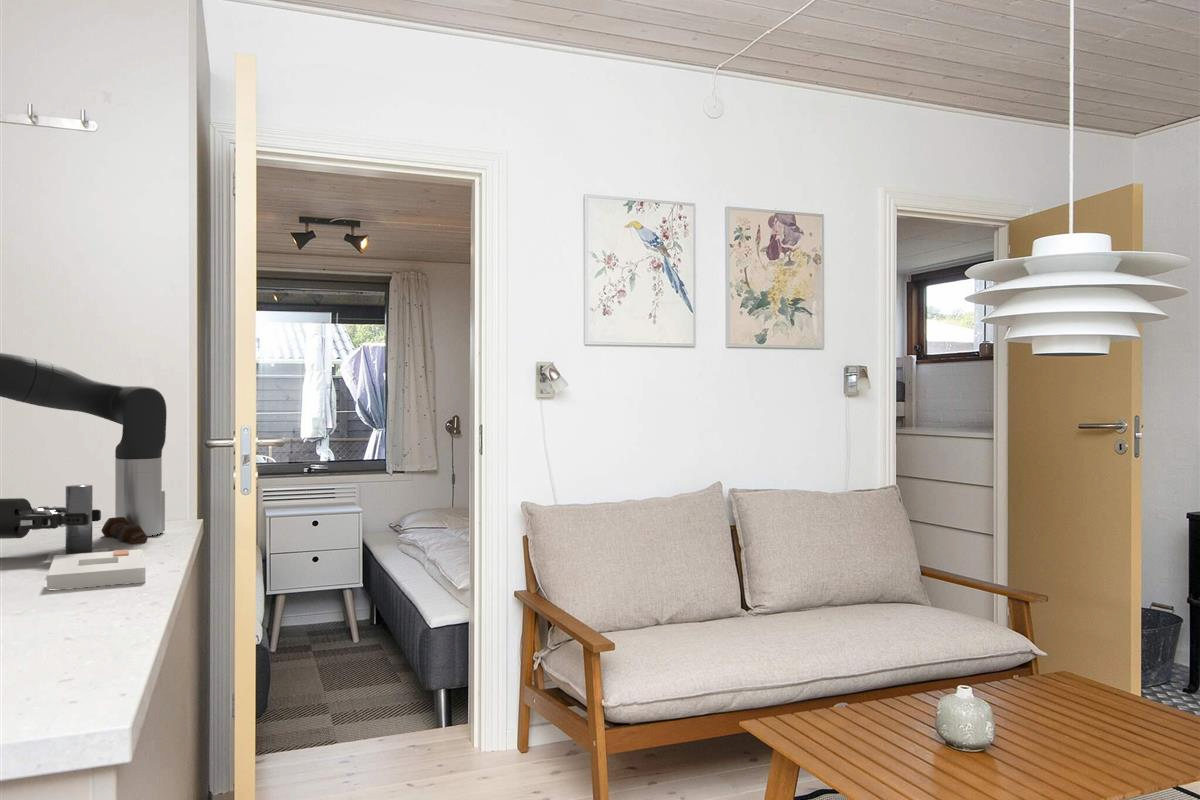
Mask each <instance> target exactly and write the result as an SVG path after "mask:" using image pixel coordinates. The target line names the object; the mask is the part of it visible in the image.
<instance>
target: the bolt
mask: <svg viewBox="0 0 1200 800" xmlns="http://www.w3.org/2000/svg"><path fill="white" fill-rule="evenodd" d="M101 533H102V534H103V536H104V537H105V538H109V537H113V538H116V539H118V540H119V541H120V542H121V543H128V544H130V545H138V544H145V543H147V541H148V536H147V535H146V534H145V533H144V531H143V530H142V528H141V527H140V526H139V525H130V524H129V523H128V521H127V520H126V518H125V517H109V518H108V519H107V520H106V522H105V523H104V525H103V527H102V528H101Z"/></svg>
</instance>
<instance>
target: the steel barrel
mask: <svg viewBox="0 0 1200 800" xmlns="http://www.w3.org/2000/svg"><path fill="white" fill-rule="evenodd" d="M65 507H66V516H67V514H68V513H88V514H89V524H88V525H69V526H67V524H66V526H65V551H66V555H67V554H81V553H92V549H93V521H92V510H93V484H72V485H66V486H65Z"/></svg>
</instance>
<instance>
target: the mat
mask: <svg viewBox="0 0 1200 800" xmlns="http://www.w3.org/2000/svg"><path fill="white" fill-rule="evenodd" d="M95 552H110V547H105V548H102V547H101V548H92V553H95ZM55 555H66V550H60V551H59V550H58V551H50V552H49V553H48V556H47V558H46V562H50V561H51V562H52V561H53V559H54V556H55Z"/></svg>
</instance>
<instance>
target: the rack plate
mask: <svg viewBox="0 0 1200 800" xmlns="http://www.w3.org/2000/svg"><path fill="white" fill-rule="evenodd" d="M143 550H144V549H143V548H141V549H128V548H126V549H115V550H114V549H113V551H112V550H111V551H110V550H109V552H95V553H81V554H67V555H55V556H54V559H53V560H52V561H51V565H49V566H50V567H49V569H48V571H47V574H46V591H47V590H49V589H65V590H69V589H68V588H77V589H84V588H83V587H88V588H97V587H96V586H100V587H106V586H105V585H111V586H115V585H114V584H123V585H127V584H126V583H134V584H143V582H145V583H146V563H145V562H146V561H145V557H144V552H143Z"/></svg>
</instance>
